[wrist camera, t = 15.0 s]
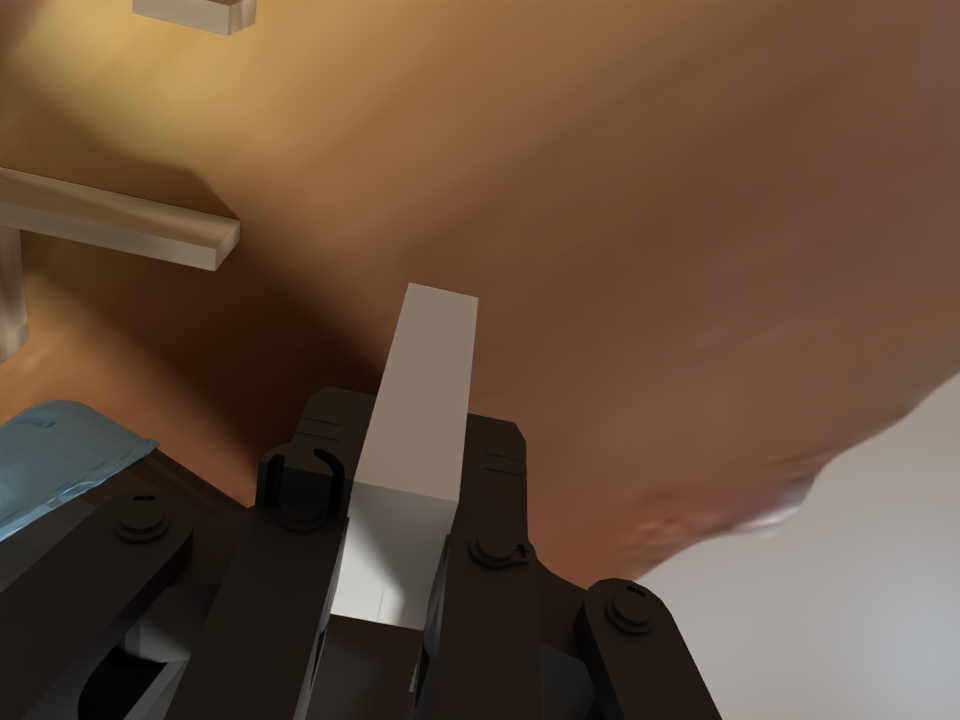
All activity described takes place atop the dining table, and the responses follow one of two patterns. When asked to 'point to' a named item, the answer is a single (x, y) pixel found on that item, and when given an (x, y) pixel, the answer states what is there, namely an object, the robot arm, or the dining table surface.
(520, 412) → the dining table surface
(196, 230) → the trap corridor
